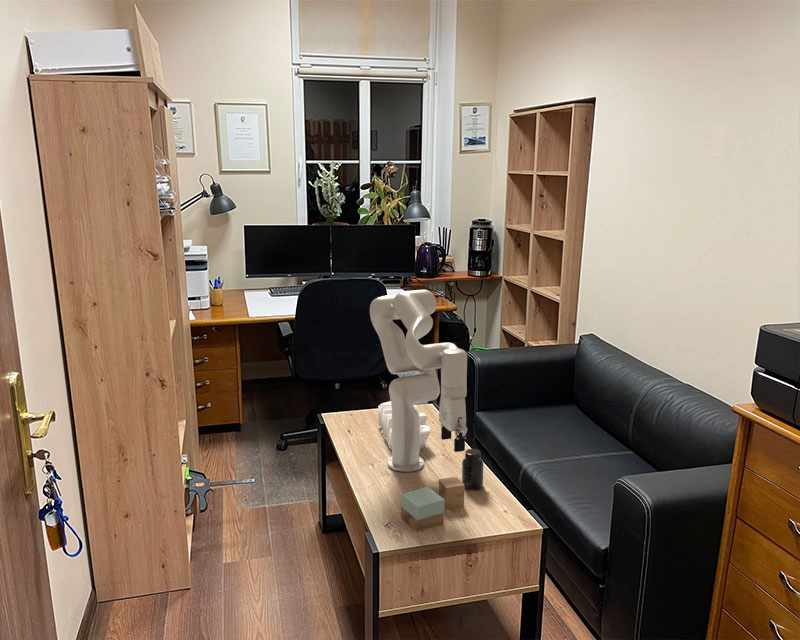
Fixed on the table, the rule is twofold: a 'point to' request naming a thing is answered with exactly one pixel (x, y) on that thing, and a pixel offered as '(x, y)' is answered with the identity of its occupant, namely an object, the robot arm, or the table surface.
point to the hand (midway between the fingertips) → (452, 444)
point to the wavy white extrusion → (386, 424)
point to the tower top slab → (422, 503)
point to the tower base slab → (422, 520)
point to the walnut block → (451, 492)
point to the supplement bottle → (472, 470)
